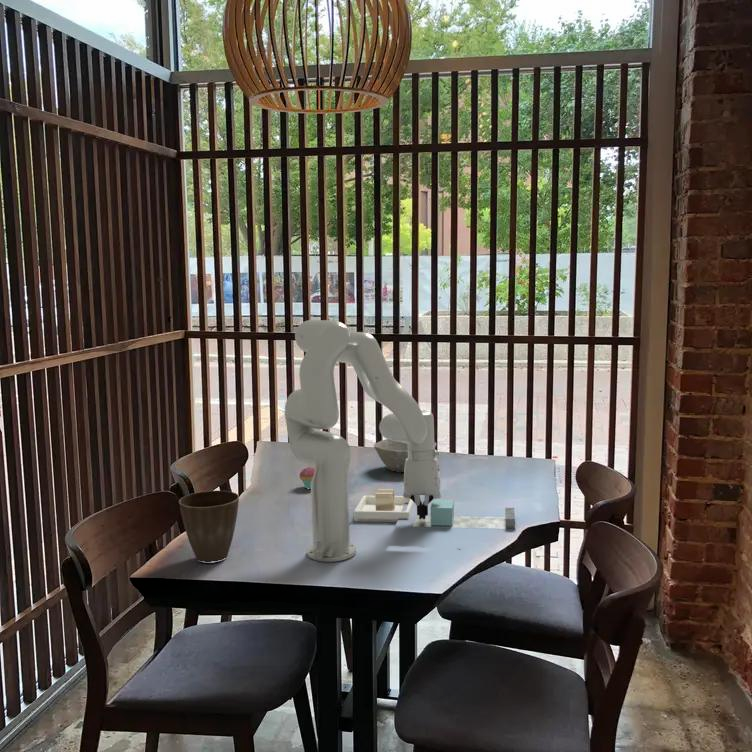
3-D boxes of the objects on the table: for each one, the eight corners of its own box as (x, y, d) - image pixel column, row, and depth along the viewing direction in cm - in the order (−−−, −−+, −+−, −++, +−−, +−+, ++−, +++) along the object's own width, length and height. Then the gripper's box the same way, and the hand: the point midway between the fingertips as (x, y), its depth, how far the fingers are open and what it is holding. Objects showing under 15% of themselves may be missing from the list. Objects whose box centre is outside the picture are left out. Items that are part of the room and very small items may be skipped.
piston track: (515, 533, 204) (515, 519, 203) (413, 530, 208) (412, 516, 208) (514, 521, 214) (514, 507, 213) (416, 519, 218) (416, 506, 218)
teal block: (452, 525, 207) (452, 508, 207) (430, 525, 208) (430, 507, 208) (454, 516, 215) (453, 499, 215) (433, 516, 216) (432, 499, 216)
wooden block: (392, 513, 222) (392, 493, 221) (375, 513, 222) (375, 493, 222) (394, 508, 226) (394, 489, 226) (378, 508, 227) (377, 488, 227)
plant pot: (218, 544, 202) (214, 487, 200) (254, 556, 193) (251, 496, 191) (170, 561, 191) (166, 500, 189) (206, 574, 181) (203, 510, 179)
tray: (408, 522, 216) (408, 512, 215) (354, 521, 218) (354, 511, 218) (414, 505, 231) (414, 496, 231) (363, 504, 234) (363, 495, 233)
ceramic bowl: (375, 463, 286) (374, 437, 285) (435, 462, 285) (435, 436, 284) (373, 478, 264) (372, 451, 263) (438, 477, 263) (437, 450, 262)
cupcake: (297, 486, 257) (295, 452, 256) (320, 483, 260) (319, 449, 259) (303, 492, 249) (302, 457, 248) (328, 489, 252) (326, 454, 251)
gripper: (448, 451, 213) (449, 514, 215) (396, 451, 215) (398, 513, 217) (446, 458, 205) (448, 522, 208) (393, 457, 208) (394, 521, 210)
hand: (422, 517), depth 213 cm, fingers closed
